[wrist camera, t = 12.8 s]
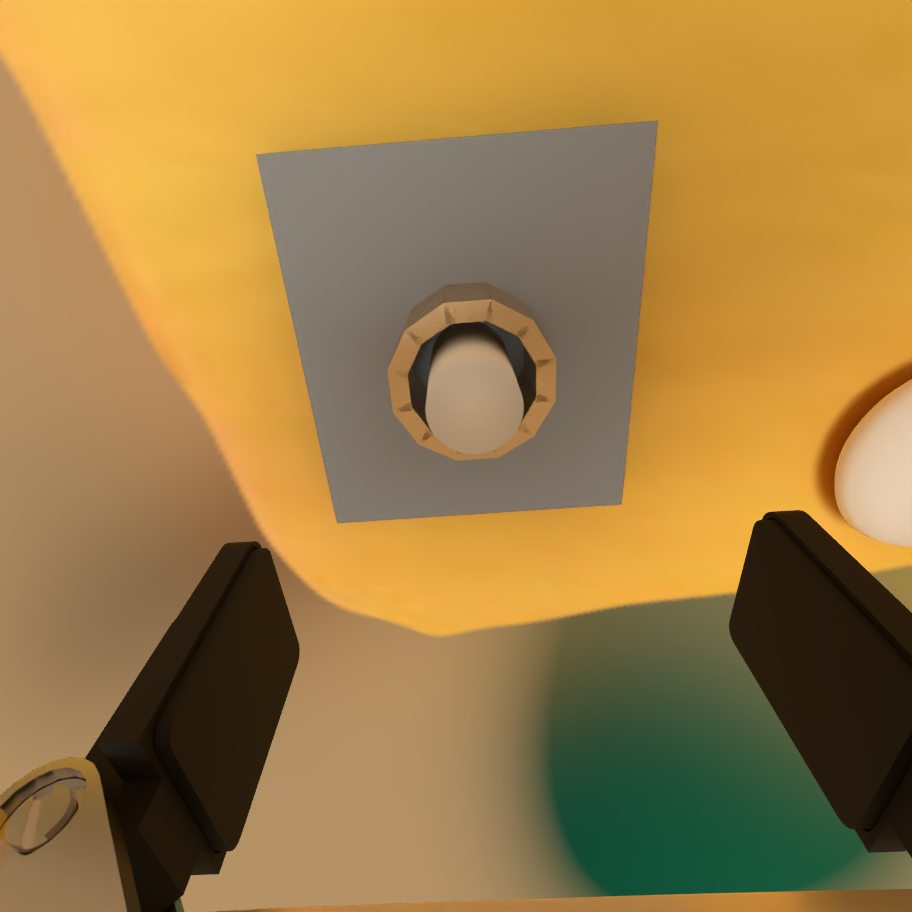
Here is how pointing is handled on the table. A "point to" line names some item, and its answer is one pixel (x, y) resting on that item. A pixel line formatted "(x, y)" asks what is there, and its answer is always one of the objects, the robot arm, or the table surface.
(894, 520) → the flower in vase
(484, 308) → the bronze ring
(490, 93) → the table surface
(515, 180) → the piston stand
